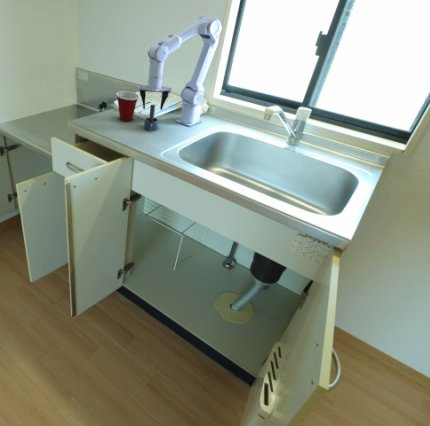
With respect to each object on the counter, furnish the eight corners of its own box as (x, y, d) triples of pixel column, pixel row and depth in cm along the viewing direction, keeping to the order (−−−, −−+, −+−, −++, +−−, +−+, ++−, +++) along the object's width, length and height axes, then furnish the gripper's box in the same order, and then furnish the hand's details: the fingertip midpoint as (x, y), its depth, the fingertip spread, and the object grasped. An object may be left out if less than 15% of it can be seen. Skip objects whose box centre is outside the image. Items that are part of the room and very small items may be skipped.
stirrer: (150, 125, 151) (152, 104, 145) (153, 127, 150) (156, 105, 144) (147, 126, 150) (149, 105, 144) (150, 128, 149) (153, 106, 143)
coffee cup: (144, 125, 153) (145, 116, 151) (157, 126, 153) (158, 117, 151) (143, 131, 146) (143, 123, 144) (157, 133, 146) (157, 124, 144)
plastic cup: (129, 125, 152) (131, 99, 145) (110, 119, 156) (111, 94, 149) (141, 119, 159) (143, 94, 152) (123, 114, 164) (124, 89, 157)
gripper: (138, 77, 134) (136, 110, 142) (173, 79, 134) (169, 112, 142) (138, 73, 140) (136, 105, 148) (172, 75, 140) (168, 107, 148)
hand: (152, 108), depth 145 cm, fingers open, 7 cm apart
